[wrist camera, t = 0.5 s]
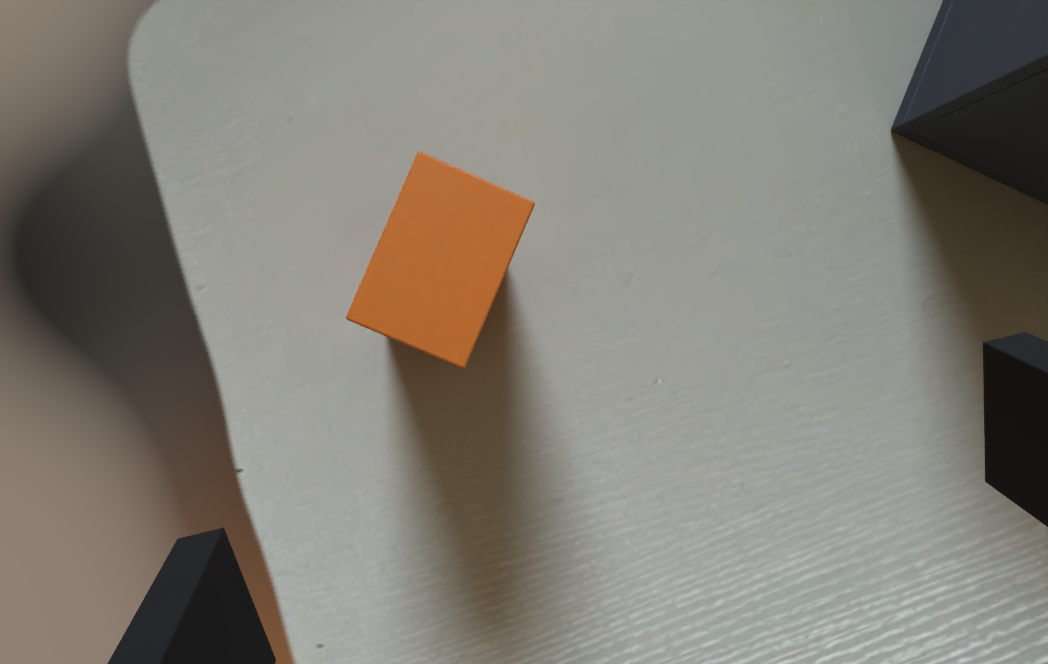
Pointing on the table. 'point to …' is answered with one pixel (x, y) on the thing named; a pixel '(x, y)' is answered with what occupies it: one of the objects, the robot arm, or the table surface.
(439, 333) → the block
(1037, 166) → the bin
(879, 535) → the table surface
